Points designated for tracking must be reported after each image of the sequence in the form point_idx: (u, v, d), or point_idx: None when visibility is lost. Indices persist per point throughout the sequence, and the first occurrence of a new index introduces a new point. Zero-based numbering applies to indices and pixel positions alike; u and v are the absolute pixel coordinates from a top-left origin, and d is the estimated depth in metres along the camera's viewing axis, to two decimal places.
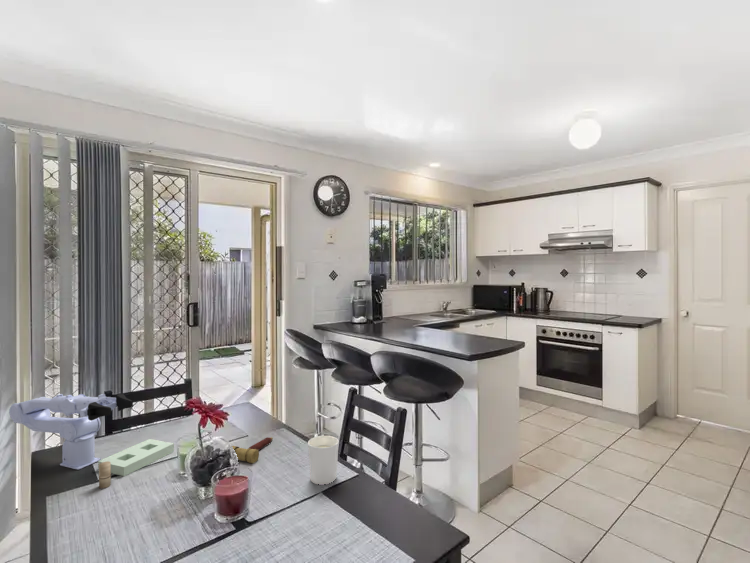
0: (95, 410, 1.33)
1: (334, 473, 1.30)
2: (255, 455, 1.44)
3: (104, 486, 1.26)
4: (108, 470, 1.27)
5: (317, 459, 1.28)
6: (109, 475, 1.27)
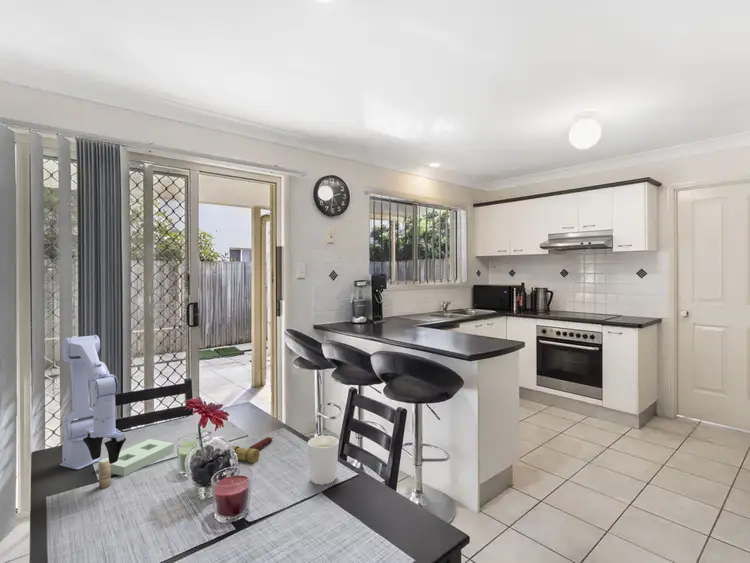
0: None
1: (334, 473, 1.30)
2: (256, 454, 1.44)
3: (104, 486, 1.26)
4: (108, 470, 1.27)
5: (317, 459, 1.28)
6: (109, 475, 1.27)
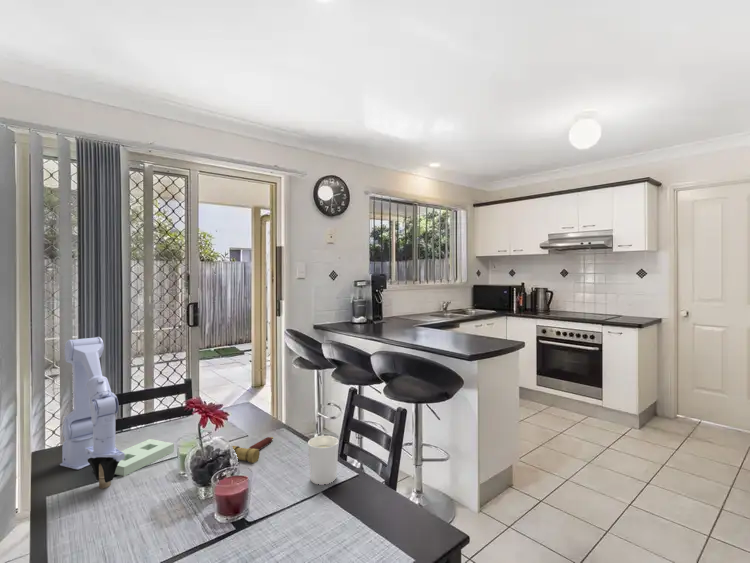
0: None
1: (334, 473, 1.30)
2: (256, 454, 1.44)
3: (104, 486, 1.26)
4: None
5: (317, 459, 1.28)
6: None
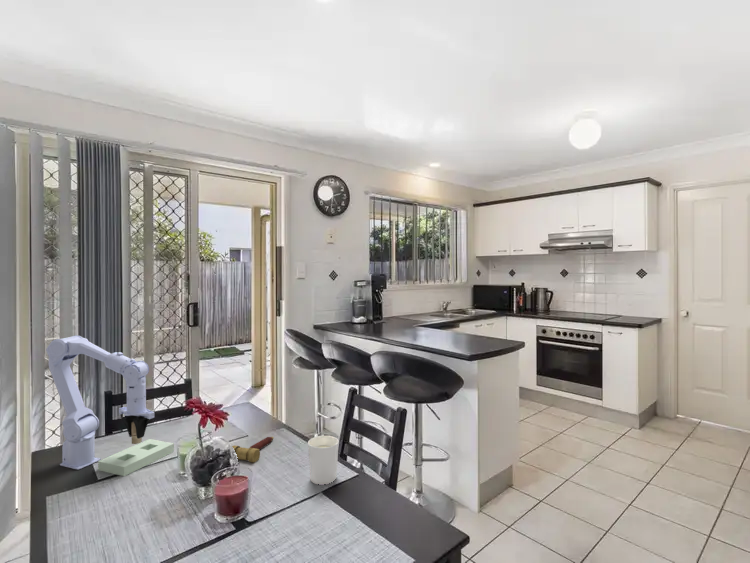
0: None
1: (334, 473, 1.30)
2: (256, 454, 1.44)
3: (136, 442, 1.41)
4: None
5: (317, 459, 1.28)
6: None
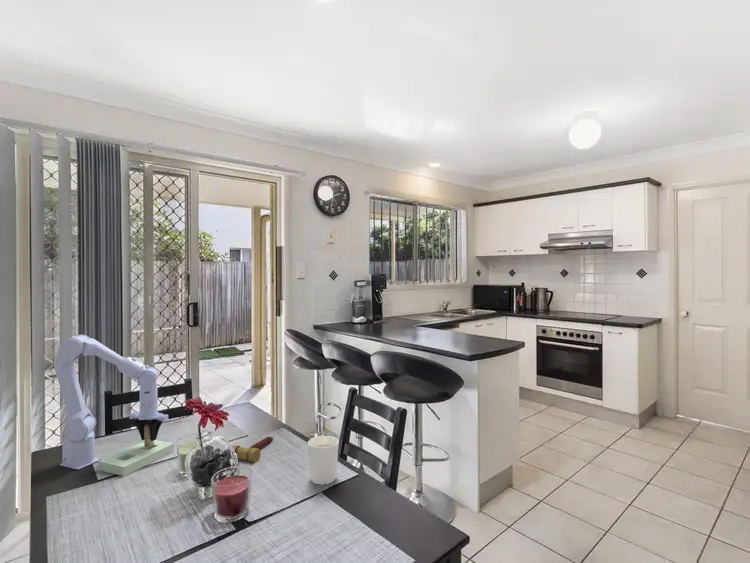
0: None
1: (334, 473, 1.30)
2: (257, 454, 1.45)
3: (149, 444, 1.48)
4: None
5: (317, 459, 1.28)
6: None
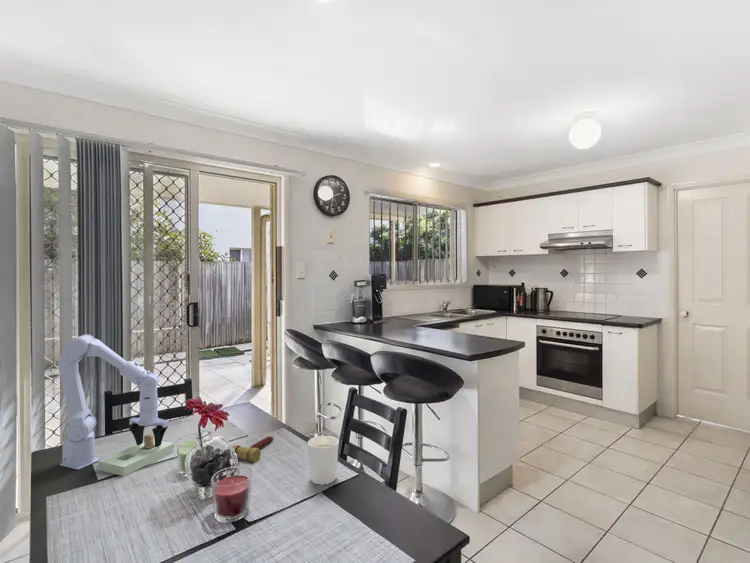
0: None
1: (334, 473, 1.30)
2: (257, 453, 1.45)
3: None
4: (152, 441, 1.49)
5: (317, 459, 1.28)
6: (153, 445, 1.49)
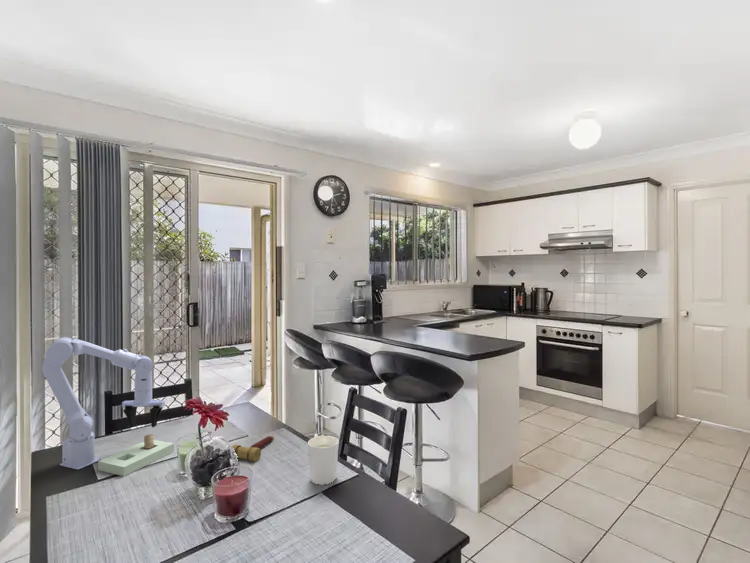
0: None
1: (334, 473, 1.30)
2: (257, 453, 1.45)
3: None
4: (152, 441, 1.49)
5: (317, 459, 1.28)
6: (153, 445, 1.49)
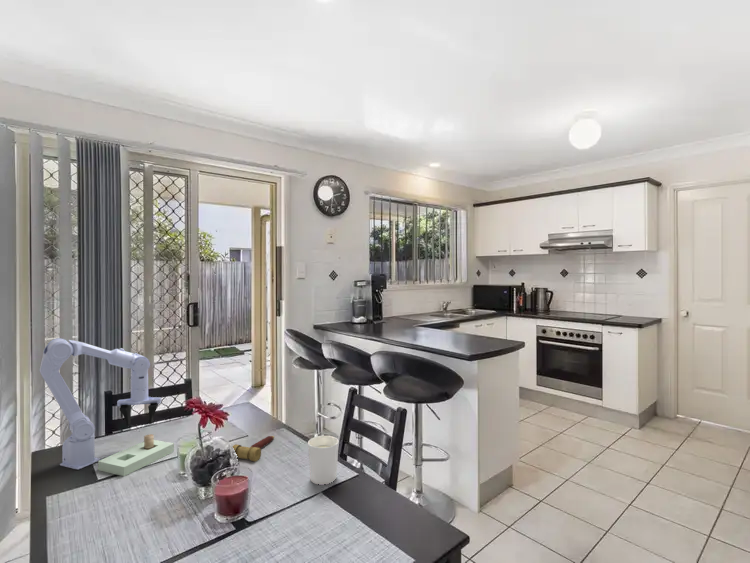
0: None
1: (334, 473, 1.30)
2: (258, 453, 1.45)
3: None
4: (152, 441, 1.49)
5: (317, 459, 1.28)
6: (153, 445, 1.49)
